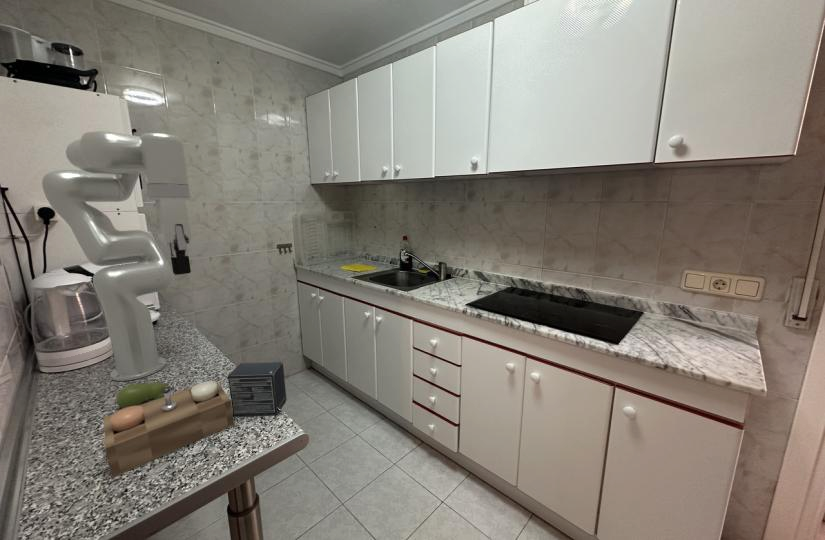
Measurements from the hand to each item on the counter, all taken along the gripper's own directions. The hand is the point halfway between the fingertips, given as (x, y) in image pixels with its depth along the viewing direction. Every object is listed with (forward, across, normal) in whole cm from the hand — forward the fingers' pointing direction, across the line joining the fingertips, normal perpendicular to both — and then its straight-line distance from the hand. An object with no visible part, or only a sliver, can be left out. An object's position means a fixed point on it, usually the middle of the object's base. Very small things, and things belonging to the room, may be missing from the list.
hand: (182, 273), depth 76 cm
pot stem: (+26, +12, -7) cm, 30 cm away
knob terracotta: (+31, +12, -14) cm, 36 cm away
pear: (+32, -7, -10) cm, 35 cm away
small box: (+32, +16, +9) cm, 37 cm away
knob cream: (+31, +12, -1) cm, 34 cm away
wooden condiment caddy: (+32, +12, -7) cm, 35 cm away
